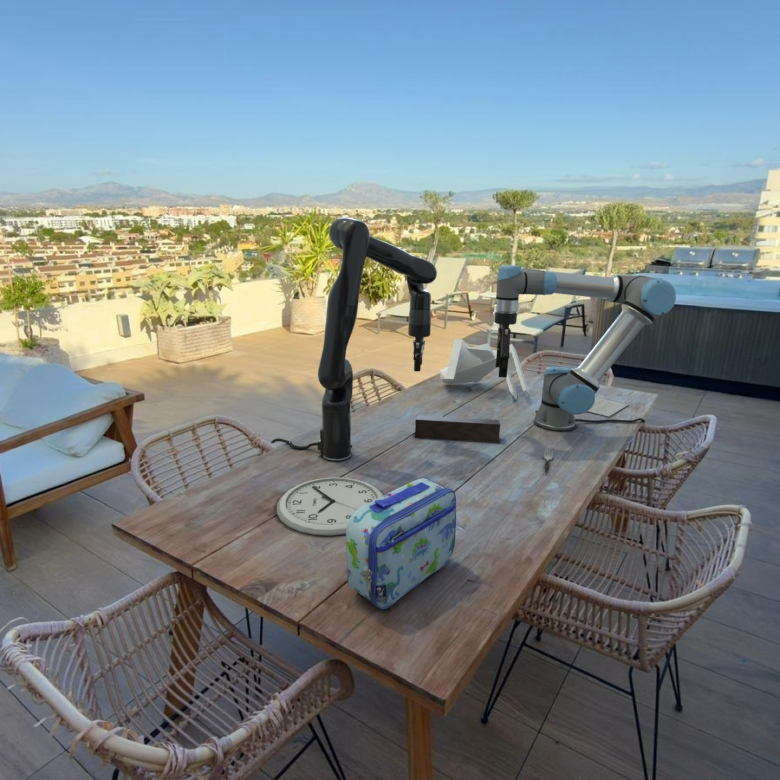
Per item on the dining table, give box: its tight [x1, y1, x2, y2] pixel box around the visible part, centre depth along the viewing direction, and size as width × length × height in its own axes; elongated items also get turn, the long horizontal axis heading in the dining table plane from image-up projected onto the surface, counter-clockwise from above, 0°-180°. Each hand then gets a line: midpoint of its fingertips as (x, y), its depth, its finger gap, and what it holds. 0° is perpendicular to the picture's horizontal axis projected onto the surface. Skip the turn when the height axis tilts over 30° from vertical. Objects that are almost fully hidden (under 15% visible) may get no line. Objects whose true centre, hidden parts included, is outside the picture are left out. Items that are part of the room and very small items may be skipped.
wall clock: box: [276, 476, 385, 537], centre depth 142 cm, size 30×2×30 cm
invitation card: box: [587, 396, 629, 418], centre depth 226 cm, size 21×1×15 cm
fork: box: [543, 448, 554, 473], centre depth 170 cm, size 3×16×2 cm, turn 160°
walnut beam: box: [414, 414, 501, 443], centre depth 189 cm, size 30×4×7 cm, turn 83°
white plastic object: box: [438, 310, 531, 400], centre depth 245 cm, size 37×45×31 cm
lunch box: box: [345, 477, 457, 610], centre depth 110 cm, size 26×11×21 cm, turn 134°
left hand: (418, 367), depth 182 cm, fingers open, 8 cm apart
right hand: (500, 372), depth 184 cm, fingers open, 13 cm apart
